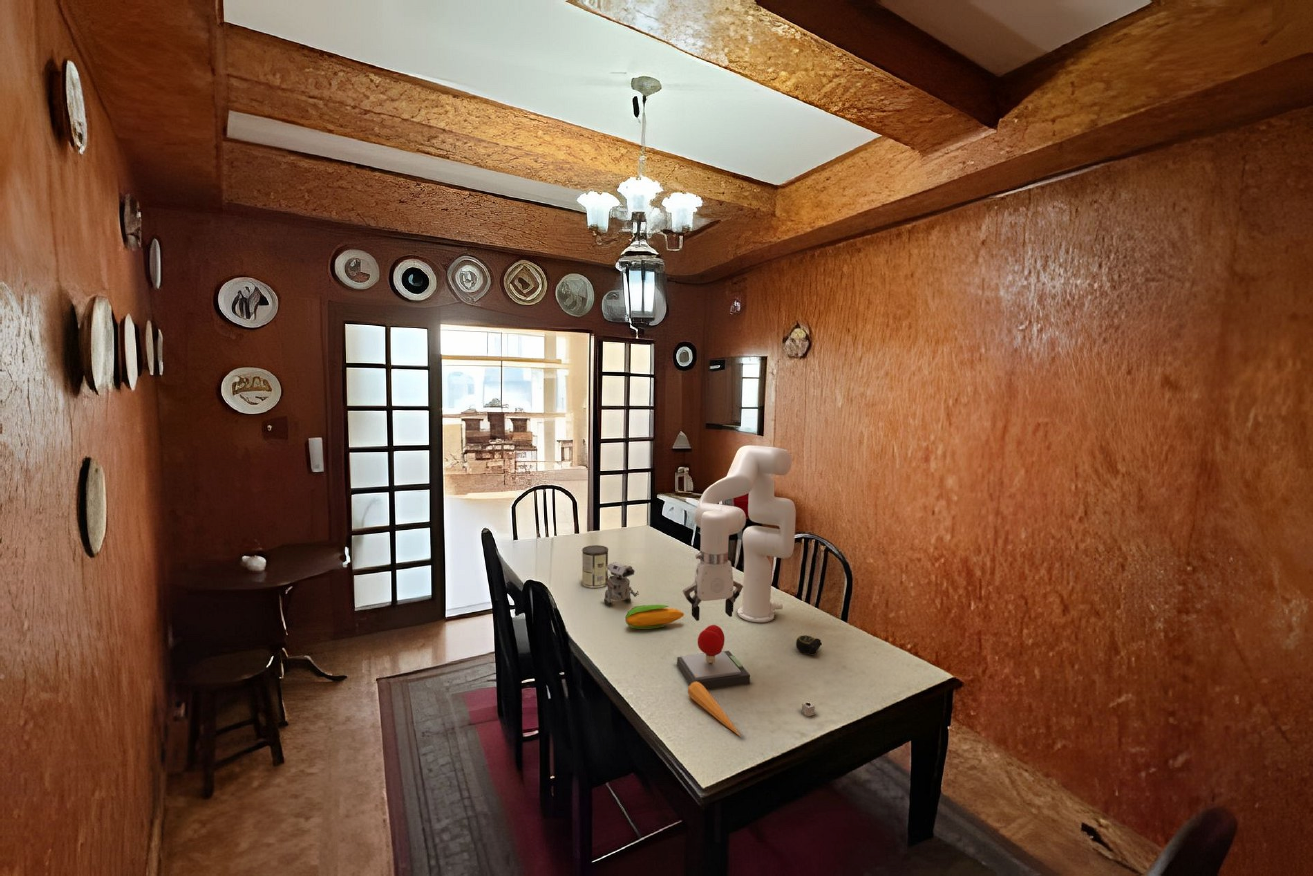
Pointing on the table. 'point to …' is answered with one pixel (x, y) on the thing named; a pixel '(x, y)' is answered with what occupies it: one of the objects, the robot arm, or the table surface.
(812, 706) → the white block with hole
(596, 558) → the coffee can
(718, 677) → the scale
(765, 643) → the table surface
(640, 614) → the corn
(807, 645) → the tape measure
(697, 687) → the carrot
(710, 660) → the red rounded piece
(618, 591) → the figurine
